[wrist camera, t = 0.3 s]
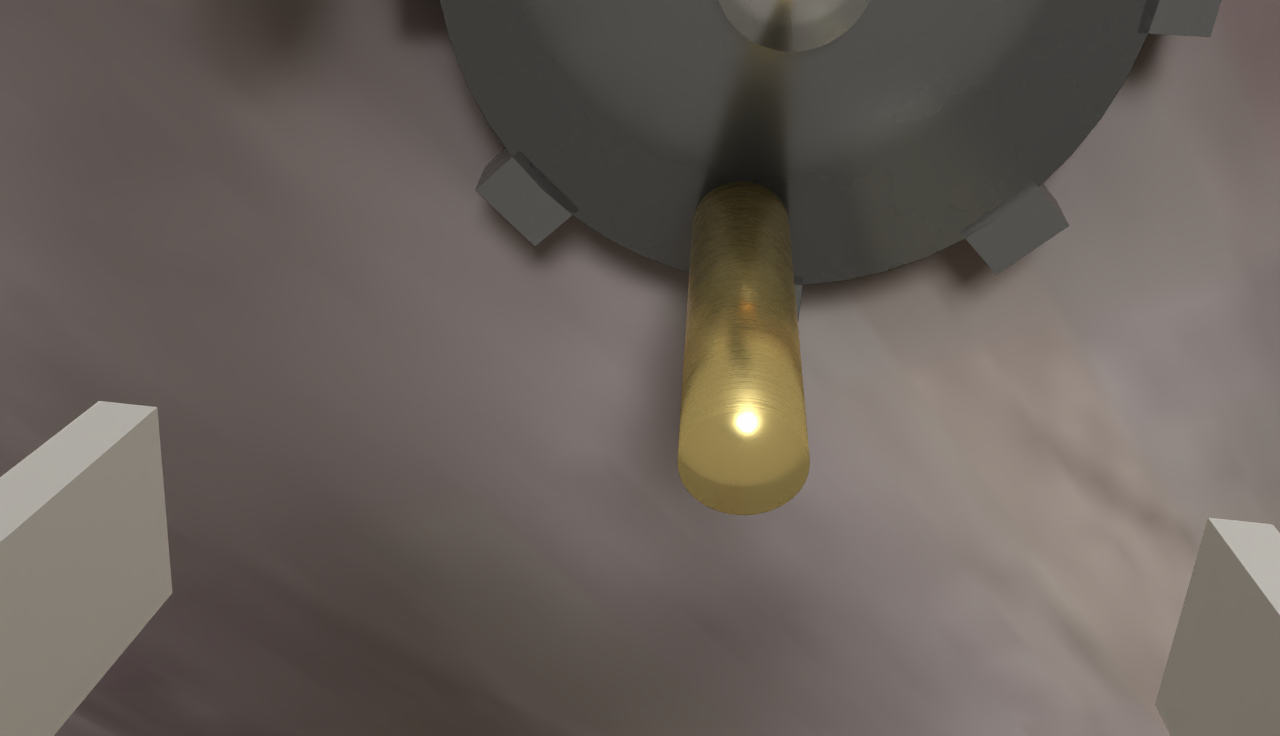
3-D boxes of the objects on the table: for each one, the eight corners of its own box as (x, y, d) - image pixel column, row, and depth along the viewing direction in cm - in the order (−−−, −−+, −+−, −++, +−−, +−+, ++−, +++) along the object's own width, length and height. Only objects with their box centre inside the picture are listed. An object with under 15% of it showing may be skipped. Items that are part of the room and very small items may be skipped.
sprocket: (873, -848, 25) (988, -1196, 14) (1375, -20, 34) (1705, 189, 22) (227, -80, 35) (-20, 90, 24) (744, 414, 43) (749, 716, 32)
